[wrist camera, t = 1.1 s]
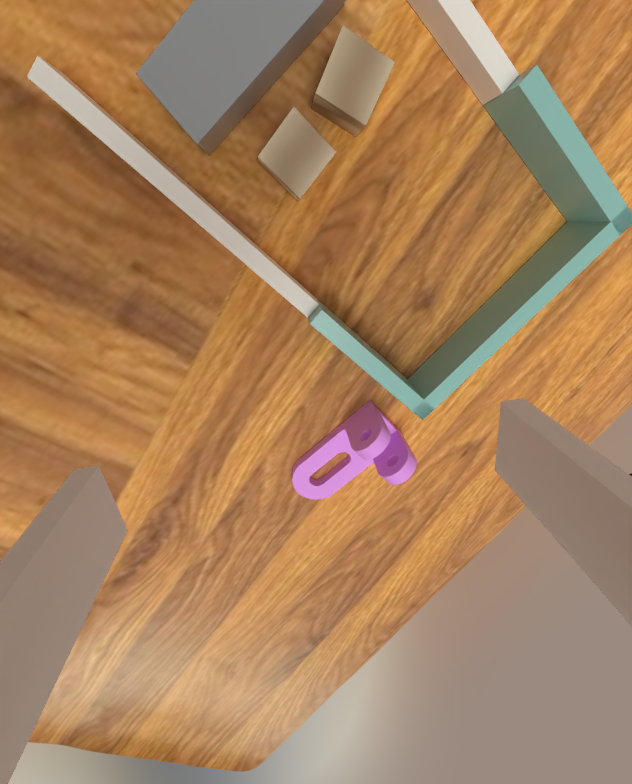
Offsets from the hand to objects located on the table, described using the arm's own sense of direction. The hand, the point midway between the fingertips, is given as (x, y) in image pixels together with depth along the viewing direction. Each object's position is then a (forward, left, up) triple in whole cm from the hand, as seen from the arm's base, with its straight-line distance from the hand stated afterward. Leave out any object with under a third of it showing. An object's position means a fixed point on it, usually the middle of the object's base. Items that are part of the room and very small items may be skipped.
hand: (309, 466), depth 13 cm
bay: (+8, +12, -25) cm, 29 cm away
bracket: (+15, -9, -26) cm, 31 cm away
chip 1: (-7, +9, -25) cm, 28 cm away
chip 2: (-7, +15, -25) cm, 31 cm away
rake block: (-14, +12, -26) cm, 32 cm away
